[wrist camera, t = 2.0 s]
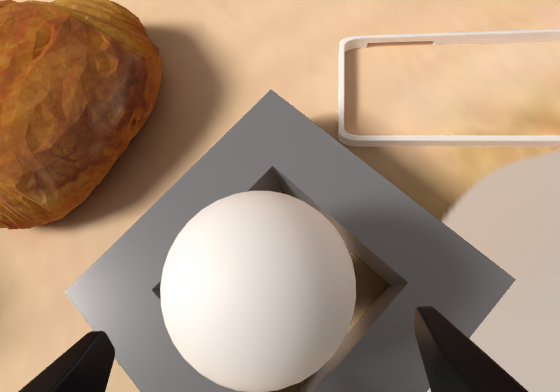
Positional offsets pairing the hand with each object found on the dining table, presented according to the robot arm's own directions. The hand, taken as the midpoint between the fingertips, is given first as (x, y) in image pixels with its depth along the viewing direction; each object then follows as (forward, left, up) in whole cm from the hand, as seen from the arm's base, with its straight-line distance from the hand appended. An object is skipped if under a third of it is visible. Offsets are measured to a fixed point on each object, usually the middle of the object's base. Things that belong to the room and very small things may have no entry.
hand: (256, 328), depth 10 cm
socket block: (+1, -1, -9) cm, 9 cm away
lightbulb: (+1, -1, -9) cm, 9 cm away
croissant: (+20, +1, -9) cm, 22 cm away
